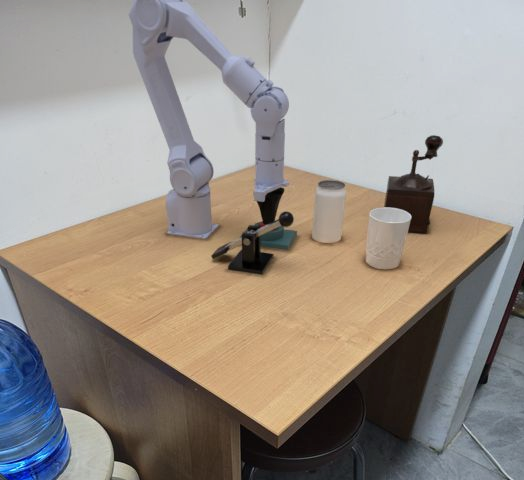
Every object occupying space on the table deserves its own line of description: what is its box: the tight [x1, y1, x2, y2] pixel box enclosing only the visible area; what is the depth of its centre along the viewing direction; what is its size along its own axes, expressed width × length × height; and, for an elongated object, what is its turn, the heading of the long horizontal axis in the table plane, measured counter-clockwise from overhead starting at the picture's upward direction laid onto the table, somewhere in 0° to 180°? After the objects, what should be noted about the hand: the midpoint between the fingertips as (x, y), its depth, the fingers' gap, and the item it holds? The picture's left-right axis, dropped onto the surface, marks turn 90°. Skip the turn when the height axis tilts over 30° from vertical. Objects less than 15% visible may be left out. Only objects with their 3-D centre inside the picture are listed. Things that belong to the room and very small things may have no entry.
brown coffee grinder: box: [383, 134, 444, 234], centre depth 112 cm, size 16×11×18 cm
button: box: [260, 220, 277, 231], centre depth 105 cm, size 4×4×2 cm
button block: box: [239, 220, 298, 251], centre depth 106 cm, size 11×8×3 cm
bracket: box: [227, 224, 275, 276], centre depth 95 cm, size 7×8×7 cm
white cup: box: [365, 206, 412, 270], centre depth 96 cm, size 8×8×10 cm
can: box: [311, 179, 347, 244], centre depth 104 cm, size 6×6×12 cm
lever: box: [210, 211, 295, 260], centre depth 94 cm, size 18×4×3 cm
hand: (268, 223), depth 104 cm, fingers closed, pressing on button
